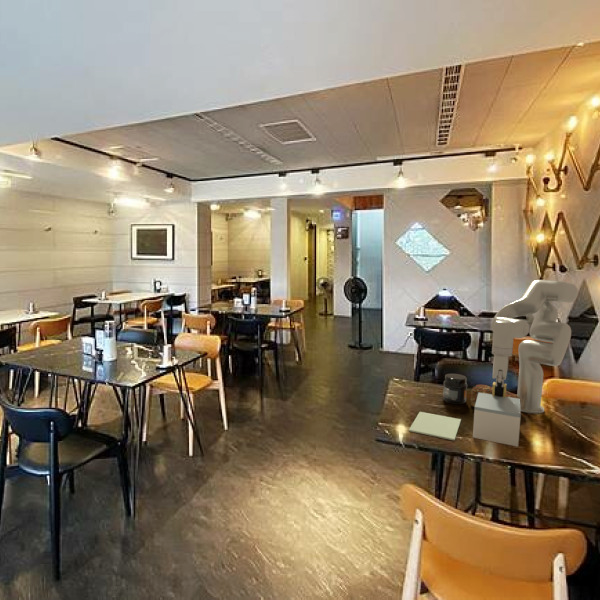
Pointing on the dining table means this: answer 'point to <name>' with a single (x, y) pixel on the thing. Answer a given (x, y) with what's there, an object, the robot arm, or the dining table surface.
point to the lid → (498, 403)
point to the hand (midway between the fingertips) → (499, 393)
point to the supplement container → (455, 388)
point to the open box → (496, 427)
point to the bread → (486, 390)
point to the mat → (436, 425)
